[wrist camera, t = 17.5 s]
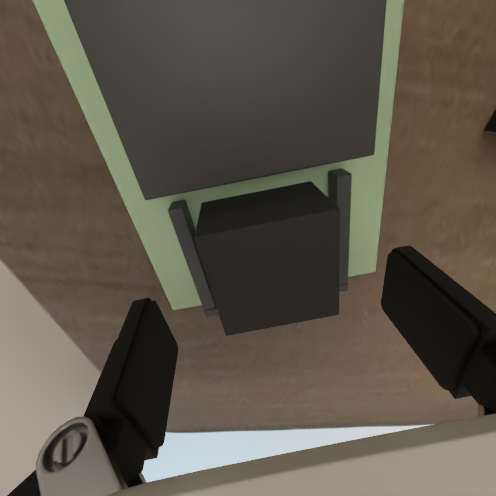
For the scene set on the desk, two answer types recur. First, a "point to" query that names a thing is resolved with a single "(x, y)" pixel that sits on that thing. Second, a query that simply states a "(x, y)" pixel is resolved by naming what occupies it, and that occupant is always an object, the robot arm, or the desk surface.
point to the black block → (271, 256)
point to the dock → (234, 112)
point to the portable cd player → (491, 125)
